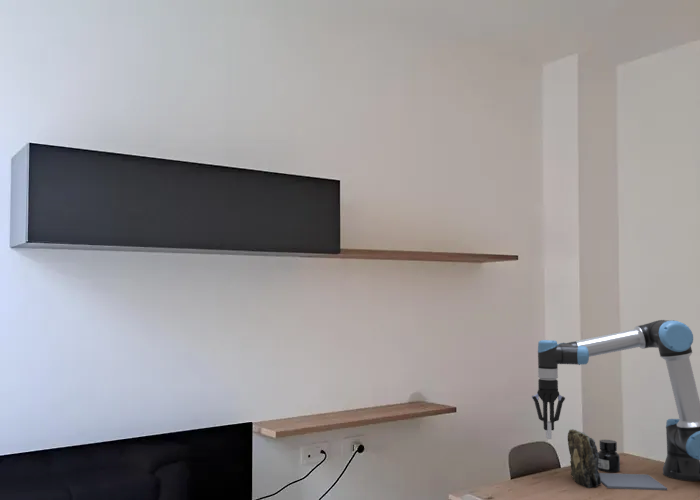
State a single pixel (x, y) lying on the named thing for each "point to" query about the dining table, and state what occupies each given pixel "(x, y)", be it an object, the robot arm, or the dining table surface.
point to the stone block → (583, 459)
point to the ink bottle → (608, 456)
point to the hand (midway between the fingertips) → (548, 438)
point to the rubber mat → (630, 481)
